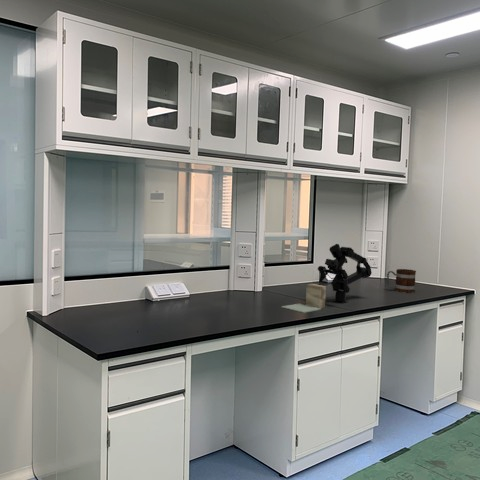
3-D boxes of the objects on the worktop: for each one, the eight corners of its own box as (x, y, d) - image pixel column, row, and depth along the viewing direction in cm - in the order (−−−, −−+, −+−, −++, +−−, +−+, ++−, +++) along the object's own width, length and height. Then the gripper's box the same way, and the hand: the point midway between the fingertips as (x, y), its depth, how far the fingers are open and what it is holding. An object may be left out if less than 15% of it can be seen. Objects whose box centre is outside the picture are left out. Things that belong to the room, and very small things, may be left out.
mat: (299, 304, 274) (299, 303, 274) (321, 309, 262) (321, 308, 262) (281, 307, 264) (281, 306, 264) (303, 312, 252) (303, 312, 252)
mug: (412, 290, 339) (413, 269, 338) (417, 293, 326) (418, 272, 325) (384, 288, 341) (385, 268, 340) (388, 292, 328) (389, 270, 327)
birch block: (311, 304, 276) (312, 283, 275) (325, 307, 269) (326, 286, 268) (305, 305, 273) (306, 284, 272) (319, 308, 265) (320, 287, 264)
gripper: (320, 252, 285) (307, 271, 278) (346, 255, 271) (333, 276, 264) (327, 265, 291) (315, 284, 284) (353, 268, 277) (340, 288, 270)
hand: (325, 282), depth 275 cm, fingers open, 8 cm apart
